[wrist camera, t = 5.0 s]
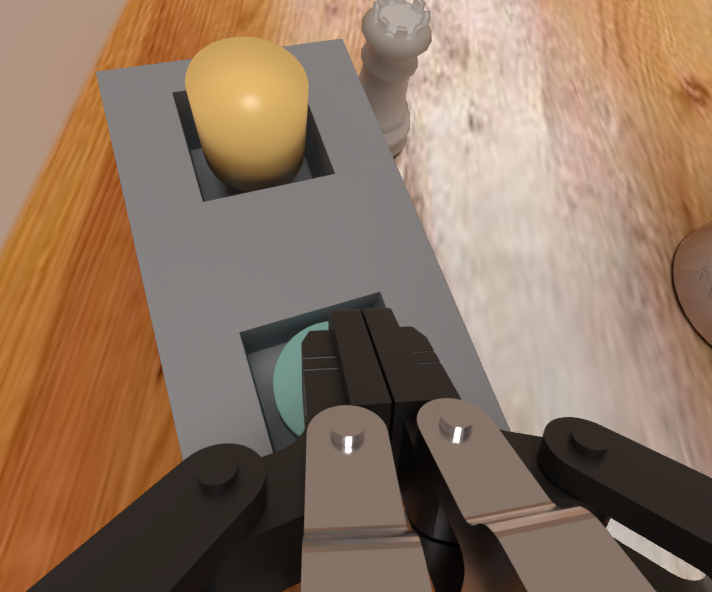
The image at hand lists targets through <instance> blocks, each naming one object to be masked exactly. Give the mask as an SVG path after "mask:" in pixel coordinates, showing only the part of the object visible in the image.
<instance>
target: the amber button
mask: <svg viewBox="0 0 712 592" xmlns="http://www.w3.org/2000/svg"><path fill="white" fill-rule="evenodd" d="M185 86H186V91H187V95H188V99H189V102H190V106H191V110H192V113H193V117H194V120H195V124H196V128H197V131H198V135H199V139H200V142H201V146H202V149H203V153H204V157H205V160H206V163H207V165H208V167H209V169H210V170H211V171H212V173H213V174H214V175H215V176H216V177H217V178H218V179H219V180H220V181H222V182H223V183H225V184H226V185H228V186H230V187H233V188H235V189H238V190H241V191H247V192H253V191H257V190H262V189H267V188H271V187H276V186H281V185H285V184H287V183H288V182H290V181H291V180H292V179H293V178H294V177H295V176H296V175H297V173H298V172H299V170H300V169H301V167H302V164H303V161H304V155H305V139H306V123H307V108H308V92H309V84H308V78H307V75H306V72H305V70H304V68H303V67H302V65H301V64H300V62H299V61H298V60H297V59H296V58H295V57H294V56H293V55H292V54H291V53H290V52H289V51H287V50H286V49H284V48H283V47H281V46H279V45H277V44H275V43H273V42H270V41H267V40H264V39H259V38H254V37H232V38H226V39H222V40H219V41H216V42H214V43H211V44H210V45H208V46H206V47H205V48H203V49H202V50H201V51H199V52H198V53H197V54H196V55H195V56H194V58H193V59H192V60H191V62H190V64H189V66H188V68H187V71H186V76H185Z"/></svg>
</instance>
